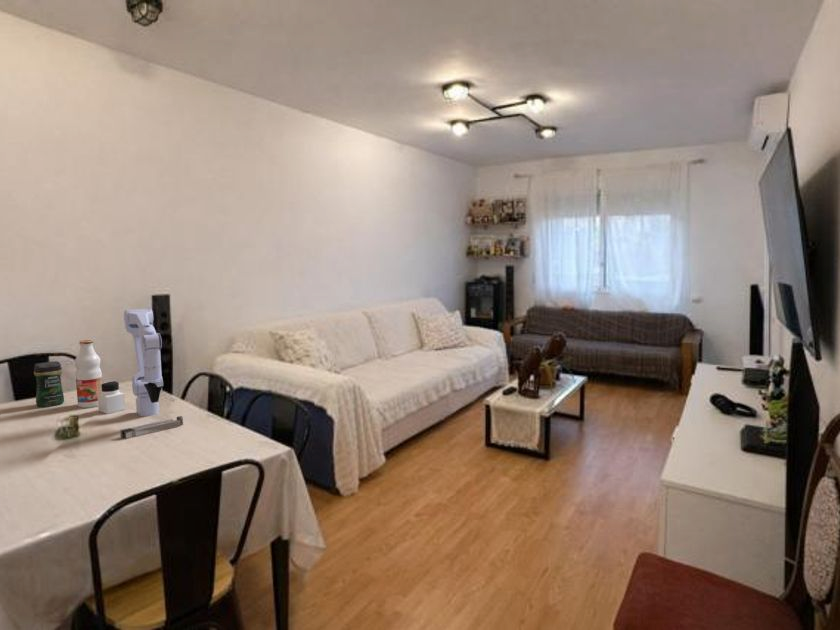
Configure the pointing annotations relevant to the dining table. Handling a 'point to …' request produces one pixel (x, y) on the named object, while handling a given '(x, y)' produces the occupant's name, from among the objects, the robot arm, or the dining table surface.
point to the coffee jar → (48, 384)
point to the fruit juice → (88, 375)
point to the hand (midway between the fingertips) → (154, 402)
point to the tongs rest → (154, 428)
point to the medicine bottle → (110, 398)
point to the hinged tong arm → (143, 426)
